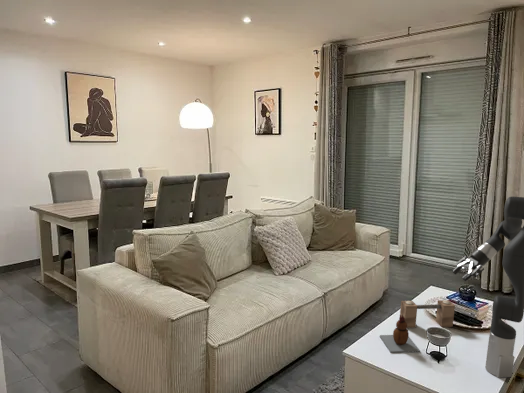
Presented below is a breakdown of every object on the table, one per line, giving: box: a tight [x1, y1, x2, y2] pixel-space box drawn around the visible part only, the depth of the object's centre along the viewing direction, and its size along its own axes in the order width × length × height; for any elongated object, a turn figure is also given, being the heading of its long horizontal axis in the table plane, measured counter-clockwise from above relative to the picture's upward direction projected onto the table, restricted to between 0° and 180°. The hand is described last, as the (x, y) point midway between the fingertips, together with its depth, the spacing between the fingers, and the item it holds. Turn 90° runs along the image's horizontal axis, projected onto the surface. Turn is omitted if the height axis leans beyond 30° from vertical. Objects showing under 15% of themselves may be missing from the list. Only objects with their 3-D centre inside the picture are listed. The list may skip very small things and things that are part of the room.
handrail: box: [399, 299, 456, 329], centre depth 204 cm, size 6×26×13 cm, turn 94°
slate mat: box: [379, 334, 421, 354], centre depth 186 cm, size 14×14×1 cm
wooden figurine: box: [392, 314, 410, 345], centre depth 184 cm, size 7×6×15 cm
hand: (458, 276), depth 190 cm, fingers open, 8 cm apart
